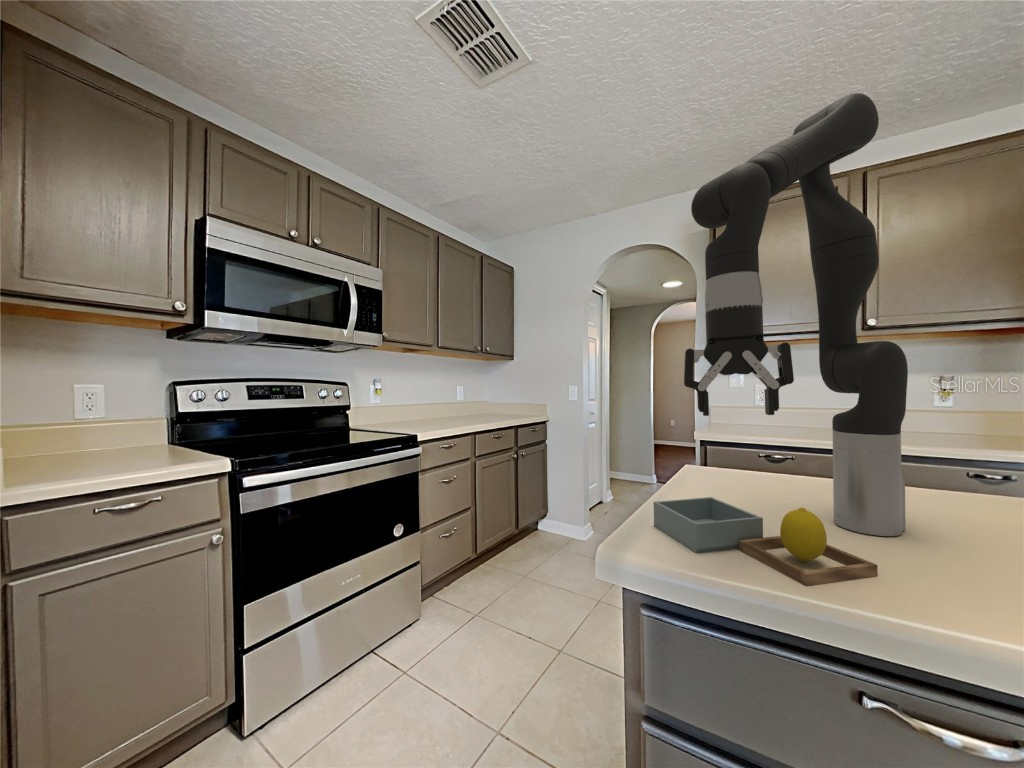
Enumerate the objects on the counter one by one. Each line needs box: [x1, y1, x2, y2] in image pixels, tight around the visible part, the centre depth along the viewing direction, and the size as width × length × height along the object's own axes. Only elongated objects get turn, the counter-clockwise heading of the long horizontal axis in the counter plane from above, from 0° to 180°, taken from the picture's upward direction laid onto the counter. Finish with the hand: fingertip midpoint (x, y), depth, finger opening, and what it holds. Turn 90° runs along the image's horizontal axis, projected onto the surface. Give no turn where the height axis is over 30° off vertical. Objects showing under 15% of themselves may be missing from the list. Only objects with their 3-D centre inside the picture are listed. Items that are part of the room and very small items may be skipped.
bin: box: [653, 496, 764, 554], centre depth 70 cm, size 12×12×4 cm
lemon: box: [779, 507, 828, 563], centre depth 59 cm, size 6×6×8 cm
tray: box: [738, 535, 878, 587], centre depth 59 cm, size 12×12×2 cm
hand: (736, 415), depth 61 cm, fingers open, 8 cm apart
